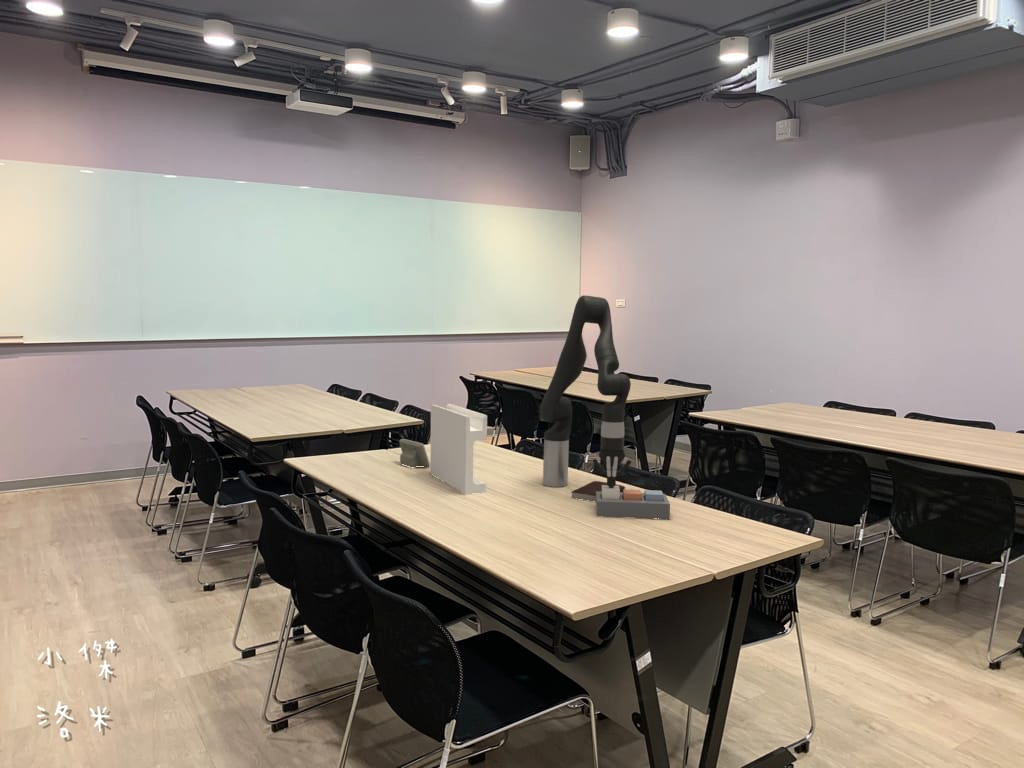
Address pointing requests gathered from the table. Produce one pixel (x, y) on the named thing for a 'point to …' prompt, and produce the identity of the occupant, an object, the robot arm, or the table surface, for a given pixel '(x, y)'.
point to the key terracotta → (631, 494)
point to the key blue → (653, 495)
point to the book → (591, 490)
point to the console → (632, 507)
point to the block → (456, 446)
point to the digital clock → (413, 454)
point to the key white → (610, 492)
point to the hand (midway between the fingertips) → (611, 487)
